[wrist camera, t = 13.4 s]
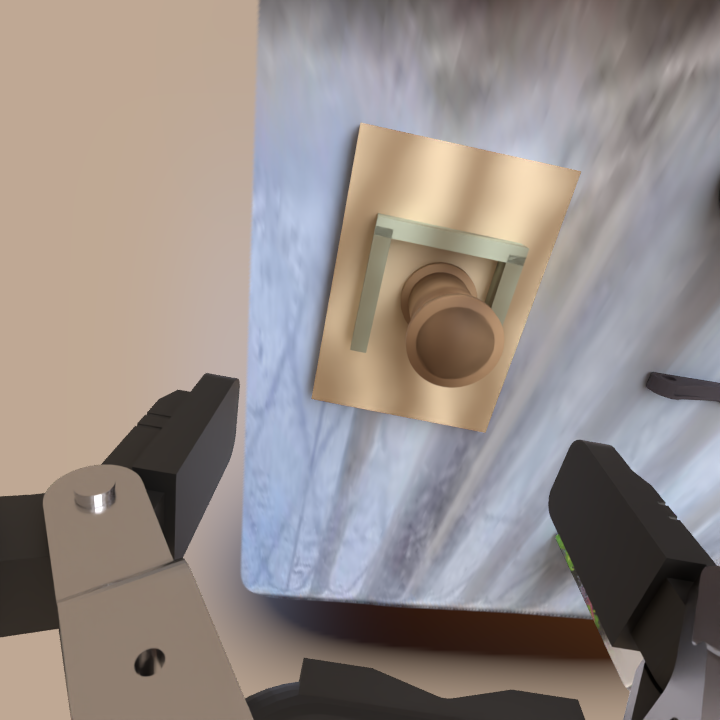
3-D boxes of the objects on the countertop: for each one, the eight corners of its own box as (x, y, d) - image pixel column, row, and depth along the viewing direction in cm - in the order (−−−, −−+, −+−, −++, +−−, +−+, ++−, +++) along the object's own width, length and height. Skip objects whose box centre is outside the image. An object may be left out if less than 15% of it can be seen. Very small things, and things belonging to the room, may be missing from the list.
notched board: (572, 170, 32) (593, 172, 29) (481, 423, 41) (490, 446, 38) (361, 123, 32) (359, 120, 29) (313, 390, 40) (308, 410, 37)
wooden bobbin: (485, 270, 34) (518, 308, 26) (463, 340, 36) (487, 395, 28) (410, 254, 34) (419, 288, 26) (393, 326, 36) (396, 377, 28)
